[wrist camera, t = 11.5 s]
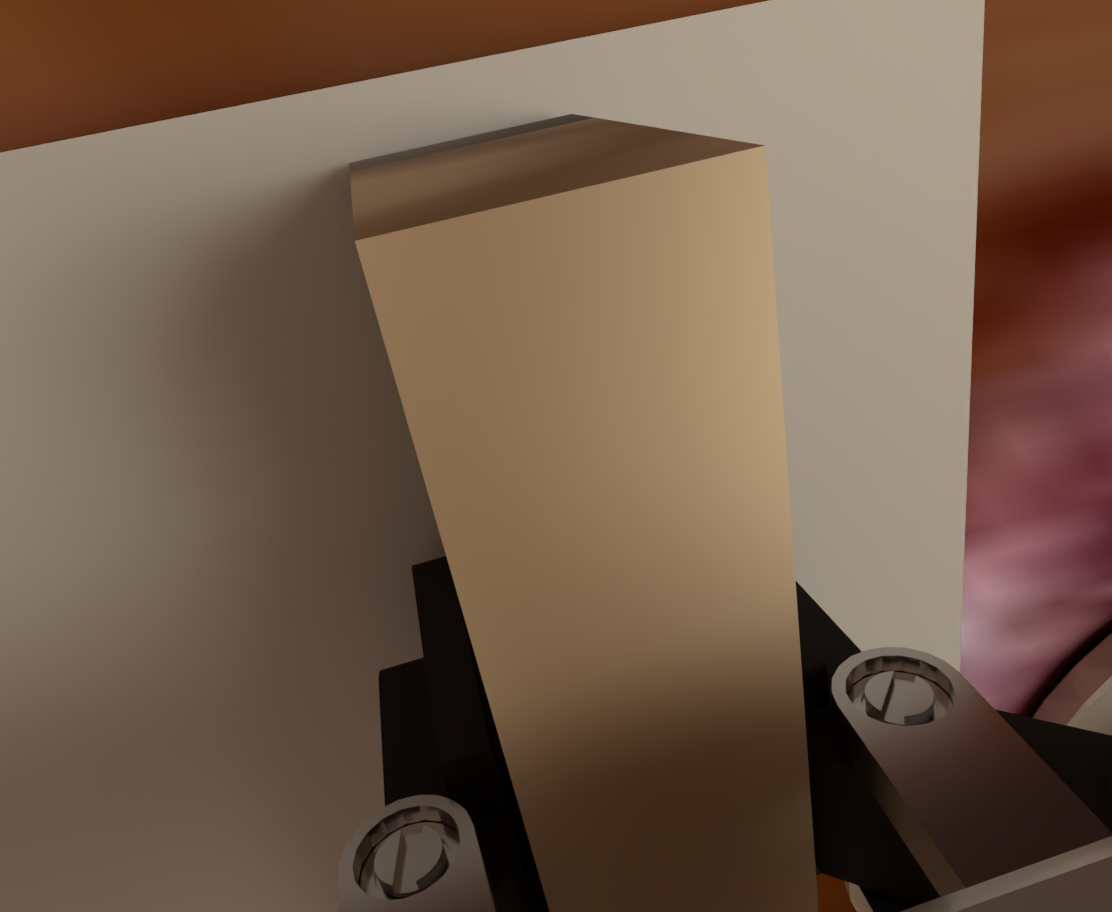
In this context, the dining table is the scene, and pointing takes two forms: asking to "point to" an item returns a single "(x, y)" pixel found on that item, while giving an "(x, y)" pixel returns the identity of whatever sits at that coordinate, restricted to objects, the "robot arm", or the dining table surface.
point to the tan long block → (610, 493)
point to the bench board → (383, 433)
